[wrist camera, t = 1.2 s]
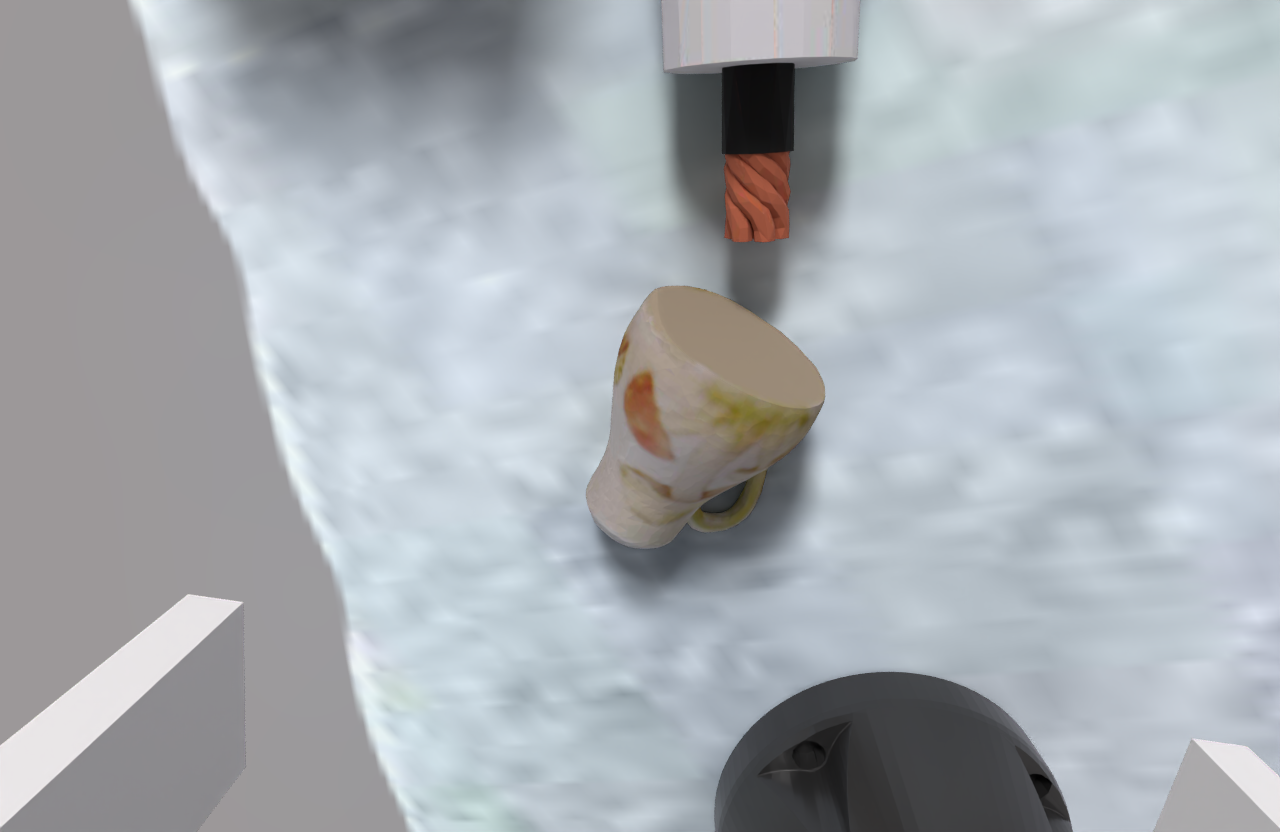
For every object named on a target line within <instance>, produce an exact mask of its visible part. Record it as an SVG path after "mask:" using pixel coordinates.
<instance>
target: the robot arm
mask: <svg viewBox="0 0 1280 832" xmlns="http://www.w3.org/2000/svg"><path fill="white" fill-rule="evenodd" d="M243 611H244V605H243V602H238V601H231V600H224V599H218V598H210V597H203V596H197V595H189V594H188V595H187V596H186V597H184V598H183V599H182V600H180V601H179V602H178V603H177V604H175V606H173V607H172V608H171V609H169V610H168V611H167V612H166V613H165V614H163V615H162V616H161V617H159V618H158V619H157V620H156V621H154V622H153V623H152V624H151V625H150V626H148V627H147V628H146V629H144V630H143V631H142V632H141V633H139V634H138V635H137V636H136V637H135V638H133V639H132V640H131V641H130V642H128V643H127V644H126V645H125V646H123V647H122V648H121V649H120V650H118V651H117V652H116V653H115V654H113V655H112V656H111V657H110V658H108V659H107V660H106V661H105V662H104V663H102V664H101V665H100V666H98V667H97V668H96V669H95V670H93V671H92V672H91V673H90V674H89V675H87V676H86V677H85V678H84V679H82V680H81V681H80V682H79V683H77V684H76V685H75V686H74V687H72V688H71V689H70V690H69V691H67V692H66V693H65V694H64V695H63V696H61V697H60V698H59V699H58V700H56V701H55V702H54V703H52V704H51V705H50V706H49V707H48V708H46V709H45V710H44V711H43V712H41V713H40V714H39V715H38V716H36V717H35V718H34V719H33V720H32V721H30V722H29V723H28V724H26V725H25V726H24V727H23V728H22V729H20V730H19V731H18V732H17V733H15V734H14V735H13V736H12V737H10V738H9V739H8V740H7V741H6V742H4V743H3V744H2V745H0V832H197V831H198V830H199V828H200V827H201V826H202V824H203V823H204V822H205V820H206V819H207V818H208V816H209V815H210V814H211V812H212V811H213V809H214V808H215V807H216V806H217V804H218V803H219V802H220V800H221V799H222V798H223V796H224V795H225V794H226V793H227V791H228V790H229V788H230V787H231V786H232V785H233V783H234V782H235V780H236V779H237V778H238V777H239V775H240V774H241V773H242V771H243V770H244V769H245V767H246V755H245V754H246V751H245V749H246V748H245V683H244V681H245V679H244V678H245V676H244V612H243ZM715 829H716V832H1073V830H1072V826H1071V821H1070V817H1069V813H1068V810H1067V806H1066V803H1065V800H1064V797H1063V795H1062V792H1061V790H1060V788H1059V786H1058V784H1057V782H1056V780H1055V778H1054V776H1053V774H1052V773H1051V771H1050V769H1049V768H1048V766H1047V765H1046V763H1045V762H1044V760H1043V759H1042V757H1041V756H1040V754H1039V753H1038V751H1037V750H1036V748H1035V747H1034V745H1033V744H1032V742H1031V741H1030V739H1029V738H1028V737H1027V735H1026V734H1025V732H1024V731H1023V730H1022V729H1021V727H1020V726H1019V725H1018V724H1017V723H1016V722H1015V721H1014V720H1013V719H1012V718H1011V717H1010V716H1009V715H1008V714H1007V713H1006V712H1005V711H1003V710H1002V709H1001V708H1000V707H999V706H997V705H996V704H994V703H993V702H991V701H990V700H989V699H987V698H985V697H983V696H982V695H980V694H978V693H976V692H974V691H972V690H970V689H968V688H966V687H963V686H961V685H958V684H956V683H953V682H950V681H947V680H944V679H940V678H936V677H932V676H926V675H921V674H913V673H903V672H876V673H865V674H858V675H852V676H847V677H842V678H838V679H835V680H831V681H827V682H824V683H822V684H819V685H816V686H813V687H811V688H809V689H806V690H804V691H802V692H800V693H798V694H796V695H794V696H792V697H790V698H789V699H787V700H785V701H784V702H782V703H780V704H779V705H778V706H776V707H775V708H773V709H772V710H770V711H769V712H768V713H767V714H765V715H764V716H763V717H762V718H761V719H760V720H759V721H757V722H756V723H755V724H754V725H753V726H752V727H751V728H750V730H749V731H748V732H747V733H746V734H745V735H744V736H743V738H742V739H741V740H740V741H739V743H738V744H737V746H736V747H735V749H734V750H733V752H732V753H731V755H730V757H729V759H728V761H727V763H726V765H725V767H724V769H723V772H722V775H721V778H720V780H719V784H718V788H717V793H716V799H715ZM1153 832H1280V777H1279V776H1278V775H1277V774H1276V773H1275V772H1274V771H1273V770H1272V769H1271V768H1270V767H1269V766H1268V765H1266V764H1265V763H1264V762H1263V761H1262V760H1261V759H1260V758H1259V757H1258V756H1257V755H1256V754H1255V753H1254V752H1253V751H1251V750H1250V749H1249V748H1248V747H1247V746H1241V745H1234V744H1227V743H1220V742H1213V741H1206V740H1199V739H1191V741H1190V744H1189V746H1188V749H1187V751H1186V753H1185V756H1184V758H1183V761H1182V763H1181V766H1180V768H1179V770H1178V773H1177V775H1176V778H1175V780H1174V783H1173V785H1172V787H1171V790H1170V792H1169V795H1168V797H1167V799H1166V802H1165V804H1164V807H1163V809H1162V812H1161V814H1160V816H1159V819H1158V821H1157V824H1156V826H1155V828H1154V831H1153Z"/></svg>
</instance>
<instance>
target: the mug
mask: <svg viewBox="0 0 1280 832" xmlns="http://www.w3.org/2000/svg"><path fill="white" fill-rule="evenodd" d="M824 399H825V386H824V383H823V380H822V378H821V376H820V374H819V372H818V370H817V368H816V367H815V366H814V364H813V363H812V362H811V361H810V360H809V359H808V358H807V357H806V356H805V355H804V354H803V352H802V351H801V350H800V349H799V348H798V347H797V346H796V345H795V344H794V343H793V342H791V341H790V340H789V339H788V338H787V337H786V336H785V335H784V334H783V333H782V332H780V331H779V330H777V329H776V328H774V327H773V326H771V325H770V324H768V323H767V322H765V321H764V320H762V319H761V318H760V317H758V316H757V315H755V314H754V313H752V312H751V311H749V310H747V309H746V308H744V307H742V306H741V305H739V304H737V303H736V302H734V301H732V300H731V299H728V298H725V297H723V296H720V295H718V294H716V293H713V292H709V291H707V290H705V289H704V290H702V289H700V288H694V287H689V286H665V287H660V288H657V289H655V290H654V291H653V292H651V293H650V294H649V296H648V297H647V298H646V299H645V301H644V302H643V304H642V305H641V307H640V308H639V310H638V311H637V313H636V314H635V316H634V317H633V319H632V321H631V322H630V324H629V326H628V328H627V330H626V332H625V334H624V337H623V339H622V343H621V346H620V349H619V353H618V357H617V362H616V367H615V373H614V384H613V399H612V412H611V429H610V437H609V441H608V445H607V448H606V451H605V454H604V456H603V458H602V460H601V462H600V464H599V466H598V468H597V469H596V471H595V472H594V474H593V476H592V478H591V480H590V482H589V484H588V486H587V489H586V499H587V504H588V507H589V510H590V512H591V515H592V517H593V519H594V521H595V523H596V524H597V525H598V527H599V528H600V529H601V530H602V531H603V532H605V533H606V534H607V535H608V536H609V537H610V538H612V539H613V540H614V541H616V542H618V543H620V544H623V545H625V546H627V547H632V548H637V549H652V548H658V547H662V546H664V545H667V544H668V543H670V542H672V541H673V539H674V538H675V537H676V536H677V535H678V533H679V532H680V531H681V530H682V528H683V527H684V526H685V524H686V523H688V525H689V526H690V527H691V528H693V529H695V530H697V531H700V532H703V533H710V532H717V531H724V530H727V529H729V528H732V527H734V526H736V525H738V524H739V523H740V522H742V521H743V520H744V519H745V518H746V517H747V516H748V515H749V514H750V513H751V512H752V510H753V509H754V507H755V505H756V503H757V500H758V498H759V496H760V494H761V492H762V488H763V484H764V480H765V476H766V472H767V469H768V468H769V467H771V466H772V465H774V464H775V463H776V462H778V461H779V460H781V459H782V458H783V457H785V456H786V455H787V454H788V453H789V452H790V451H791V450H792V449H793V448H794V447H795V446H796V445H797V444H798V443H799V442H800V441H801V440H802V439H803V438H804V437H805V435H806V434H807V433H808V431H809V430H810V428H811V426H812V425H813V423H814V421H815V419H816V418H817V416H818V414H819V412H820V410H821V408H822V405H823V403H824ZM746 480H747V481H746ZM744 481H746V484H745V487H744V489H743V491H742V493H741V495H740V496H739V498H738V500H737V501H736V503H735V504H734V505H733V506H732V507H731V508H730V509H728V510H727V511H725V512H722V513H706V512H703V511H702V510H701V506H702V505H703V504H704V503H706V502H707V501H708V500H710V499H712V498H714V497H715V496H717V495H719V494H721V493H723V492H725V491H727V490H728V489H730V488H732V487H734V486H736V485H738V484H740V483H742V482H744Z"/></svg>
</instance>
